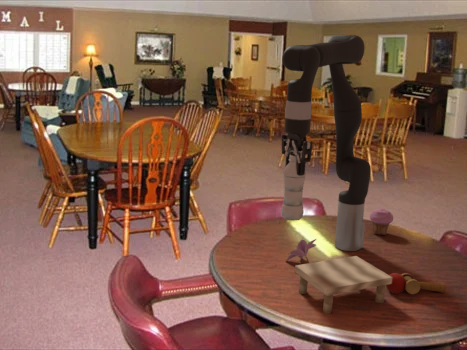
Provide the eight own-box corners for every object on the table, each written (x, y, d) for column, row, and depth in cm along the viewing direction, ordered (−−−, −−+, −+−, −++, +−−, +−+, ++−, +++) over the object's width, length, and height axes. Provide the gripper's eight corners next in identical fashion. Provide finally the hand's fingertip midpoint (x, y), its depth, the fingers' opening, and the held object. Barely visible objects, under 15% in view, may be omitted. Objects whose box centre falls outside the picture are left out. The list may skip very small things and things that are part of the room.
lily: (321, 261, 194) (311, 235, 196) (329, 261, 183) (318, 233, 184) (288, 273, 193) (278, 246, 194) (294, 274, 181) (284, 245, 183)
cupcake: (367, 235, 219) (369, 210, 216) (369, 228, 227) (371, 204, 224) (391, 238, 216) (393, 213, 214) (391, 231, 224) (394, 207, 222)
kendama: (434, 289, 177) (379, 282, 175) (441, 272, 174) (385, 265, 172) (444, 304, 170) (387, 297, 168) (451, 287, 167) (393, 279, 165)
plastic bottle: (302, 223, 168) (306, 158, 163) (279, 221, 169) (283, 156, 164) (304, 217, 174) (308, 153, 169) (282, 214, 175) (285, 151, 170)
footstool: (354, 279, 178) (356, 255, 176) (389, 302, 163) (392, 277, 161) (293, 290, 169) (295, 265, 167) (325, 316, 154) (327, 289, 152)
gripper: (322, 119, 159) (318, 177, 163) (296, 112, 172) (293, 166, 176) (299, 120, 156) (296, 179, 160) (274, 113, 169) (272, 168, 173)
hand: (294, 172), depth 168 cm, fingers closed on plastic bottle, 6 cm apart
